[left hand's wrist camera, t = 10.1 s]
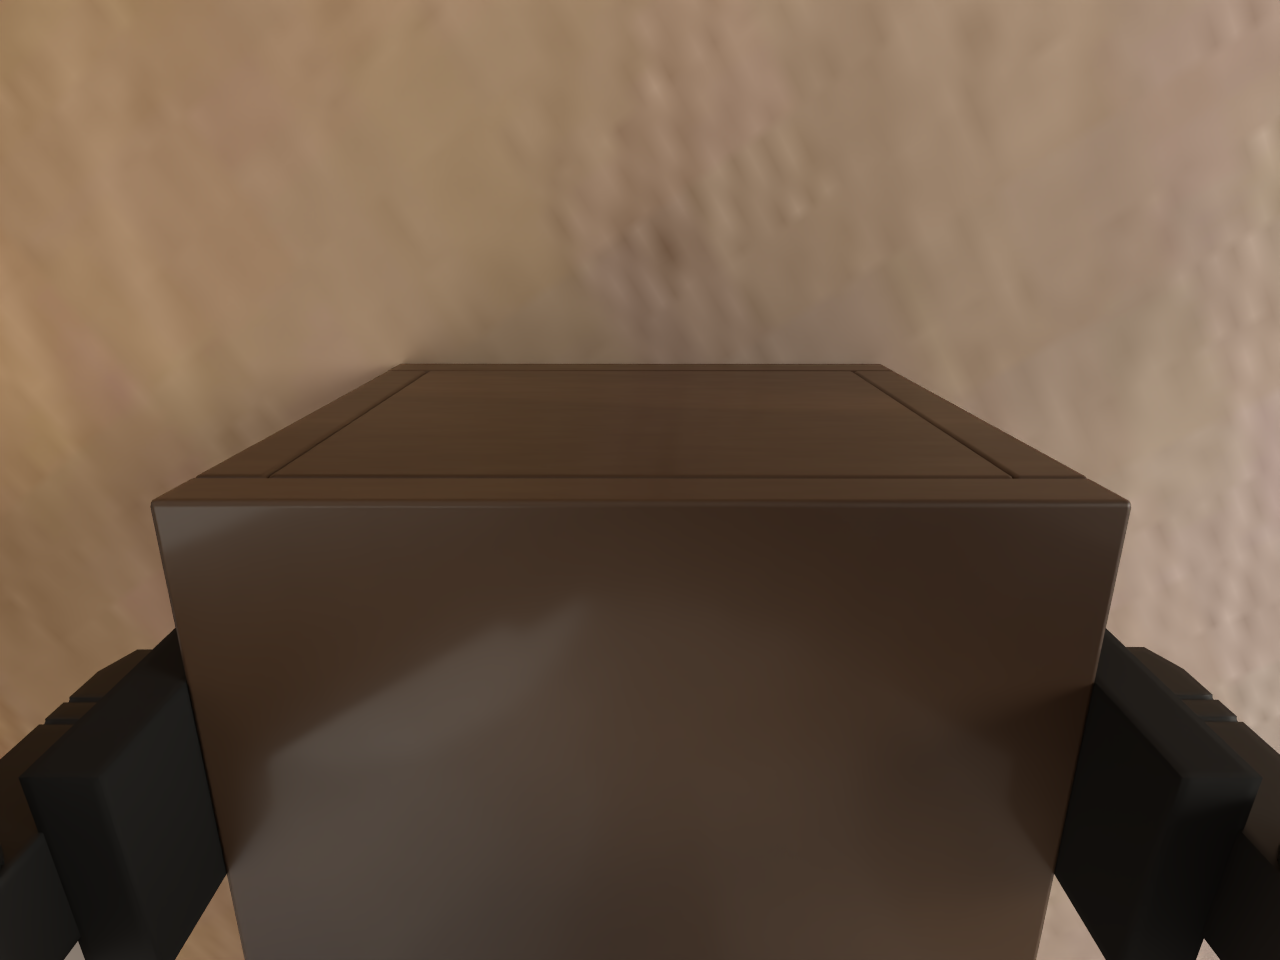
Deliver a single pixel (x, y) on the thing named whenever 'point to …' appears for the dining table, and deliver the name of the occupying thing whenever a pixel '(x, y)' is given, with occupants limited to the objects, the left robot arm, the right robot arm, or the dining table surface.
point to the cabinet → (640, 666)
